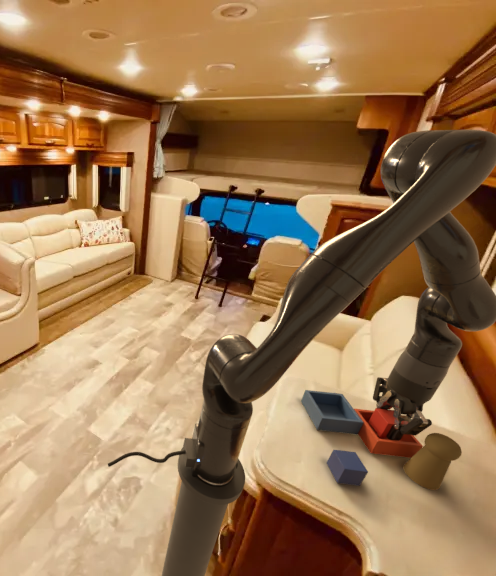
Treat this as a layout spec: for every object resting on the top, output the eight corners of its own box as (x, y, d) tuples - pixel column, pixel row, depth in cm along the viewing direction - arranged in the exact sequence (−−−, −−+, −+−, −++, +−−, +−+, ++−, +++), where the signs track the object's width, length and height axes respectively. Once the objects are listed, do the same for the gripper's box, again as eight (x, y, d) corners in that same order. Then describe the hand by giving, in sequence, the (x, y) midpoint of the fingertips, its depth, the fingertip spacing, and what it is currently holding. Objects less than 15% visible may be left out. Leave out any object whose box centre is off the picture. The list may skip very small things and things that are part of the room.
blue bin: (316, 430, 78) (322, 418, 76) (300, 401, 86) (305, 389, 84) (357, 434, 77) (363, 422, 75) (337, 405, 85) (342, 393, 84)
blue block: (336, 483, 66) (344, 469, 64) (326, 463, 70) (333, 449, 68) (359, 486, 65) (368, 472, 63) (347, 465, 69) (355, 451, 67)
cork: (396, 460, 71) (419, 425, 66) (427, 465, 70) (453, 431, 65) (414, 486, 66) (440, 450, 61) (447, 493, 65) (476, 457, 60)
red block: (380, 437, 73) (388, 423, 71) (368, 421, 77) (375, 408, 75) (400, 439, 73) (409, 425, 71) (387, 423, 77) (395, 410, 75)
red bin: (370, 453, 72) (377, 440, 71) (347, 420, 81) (353, 408, 79) (414, 458, 72) (423, 446, 70) (387, 424, 80) (394, 412, 78)
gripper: (377, 351, 74) (350, 404, 82) (424, 396, 61) (387, 454, 69) (411, 354, 74) (381, 408, 81) (466, 400, 61) (424, 459, 68)
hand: (384, 429), depth 75 cm, fingers closed on red block, 4 cm apart
